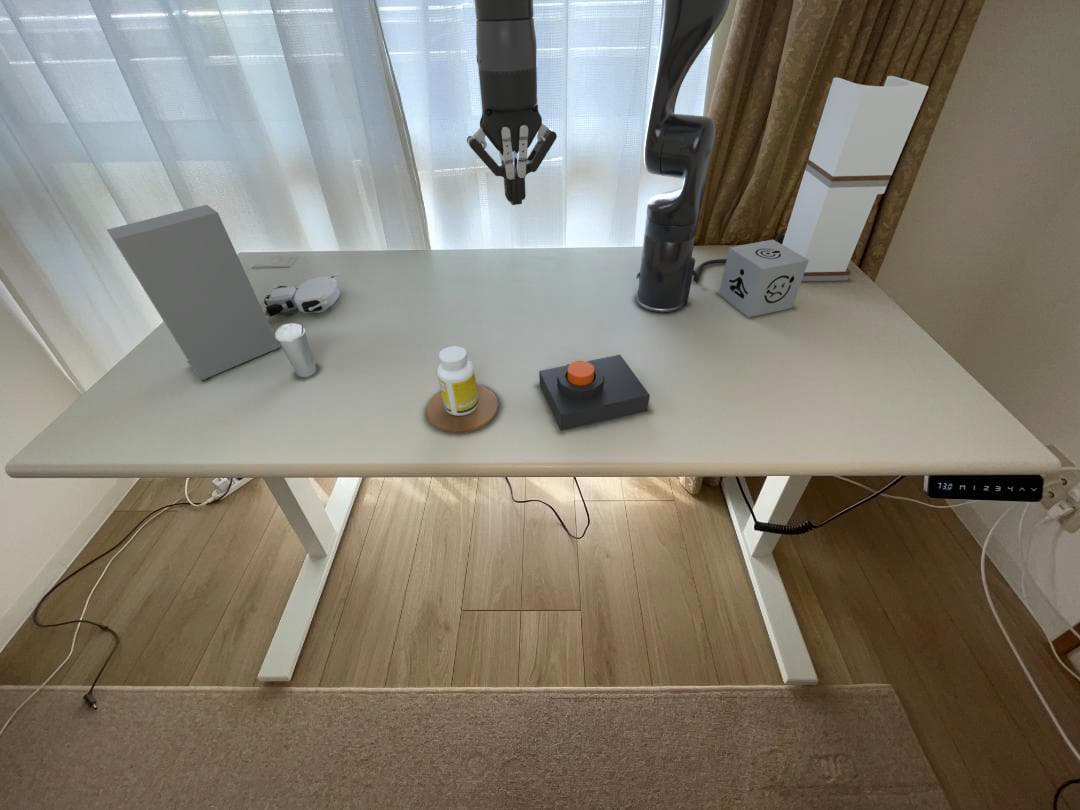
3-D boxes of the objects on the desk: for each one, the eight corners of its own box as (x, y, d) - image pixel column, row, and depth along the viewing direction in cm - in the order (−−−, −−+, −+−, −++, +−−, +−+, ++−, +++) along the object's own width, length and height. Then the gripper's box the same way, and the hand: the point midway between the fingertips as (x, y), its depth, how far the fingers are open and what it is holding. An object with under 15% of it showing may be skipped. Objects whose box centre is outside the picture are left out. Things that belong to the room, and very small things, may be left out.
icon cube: (759, 285, 104) (773, 239, 97) (791, 307, 96) (808, 260, 90) (718, 293, 101) (729, 247, 95) (748, 317, 94) (762, 269, 88)
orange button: (588, 367, 76) (588, 358, 75) (597, 383, 73) (598, 373, 72) (563, 372, 75) (564, 363, 74) (572, 388, 72) (572, 379, 71)
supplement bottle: (484, 397, 78) (477, 346, 71) (470, 420, 74) (461, 368, 67) (454, 391, 79) (444, 340, 72) (438, 412, 75) (426, 361, 69)
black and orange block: (618, 369, 83) (621, 345, 80) (647, 410, 75) (651, 385, 72) (539, 386, 80) (538, 361, 77) (560, 430, 72) (560, 405, 69)
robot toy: (262, 330, 97) (337, 318, 98) (251, 310, 94) (328, 298, 95) (279, 299, 107) (347, 289, 107) (269, 280, 104) (339, 270, 104)
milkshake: (315, 381, 83) (294, 331, 76) (287, 378, 84) (264, 328, 77) (329, 365, 86) (310, 316, 80) (302, 362, 87) (281, 313, 80)
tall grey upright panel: (268, 335, 94) (205, 203, 78) (281, 348, 91) (218, 212, 74) (190, 367, 87) (104, 228, 71) (201, 381, 84) (113, 239, 67)
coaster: (489, 381, 82) (489, 378, 81) (505, 424, 74) (504, 421, 73) (423, 394, 80) (423, 391, 79) (432, 440, 72) (431, 437, 71)
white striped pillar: (847, 280, 104) (928, 86, 81) (796, 281, 104) (863, 88, 81) (824, 257, 113) (892, 75, 90) (777, 258, 113) (833, 77, 90)
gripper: (461, 71, 58) (477, 217, 70) (566, 63, 61) (565, 205, 72) (451, 64, 64) (468, 200, 75) (548, 57, 66) (550, 190, 78)
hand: (515, 202), depth 74 cm, fingers closed
